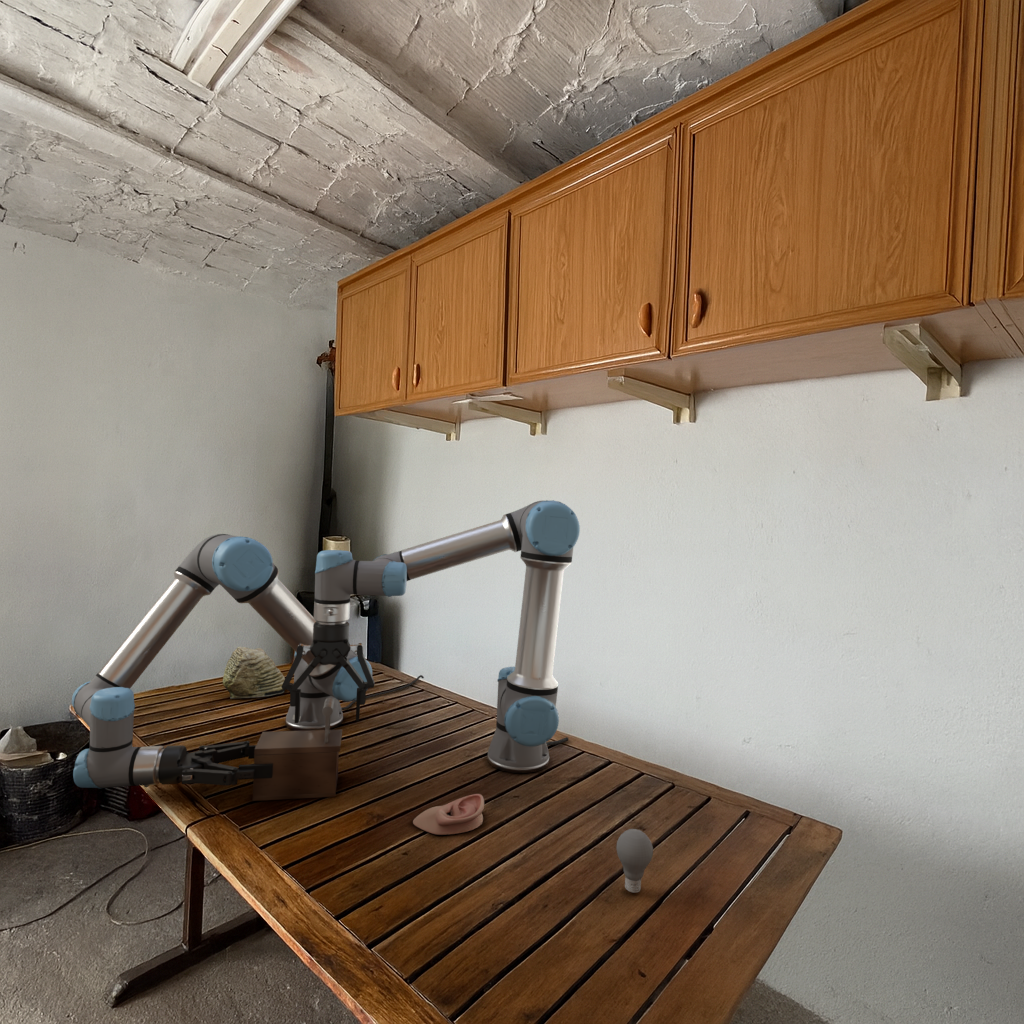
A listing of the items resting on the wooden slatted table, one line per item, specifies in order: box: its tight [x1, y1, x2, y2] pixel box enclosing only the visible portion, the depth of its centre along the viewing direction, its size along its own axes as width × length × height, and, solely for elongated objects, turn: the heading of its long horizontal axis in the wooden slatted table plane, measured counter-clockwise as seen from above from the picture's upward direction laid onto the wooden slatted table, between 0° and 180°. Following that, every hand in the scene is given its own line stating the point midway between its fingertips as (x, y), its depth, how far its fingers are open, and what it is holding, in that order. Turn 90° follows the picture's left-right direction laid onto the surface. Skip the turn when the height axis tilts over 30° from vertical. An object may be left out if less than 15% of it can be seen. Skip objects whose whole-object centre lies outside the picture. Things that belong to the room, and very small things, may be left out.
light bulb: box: [615, 828, 654, 894], centre depth 106 cm, size 6×6×10 cm
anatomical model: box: [412, 793, 485, 836], centre depth 126 cm, size 13×4×12 cm
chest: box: [252, 752, 340, 802], centre depth 137 cm, size 16×10×10 cm, turn 102°
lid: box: [254, 698, 343, 755], centre depth 137 cm, size 17×10×9 cm, turn 102°
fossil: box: [222, 646, 287, 699], centre depth 198 cm, size 9×18×15 cm, turn 132°
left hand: (276, 760), depth 136 cm, fingers closed on chest, 10 cm apart
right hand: (327, 720), depth 138 cm, fingers open, 12 cm apart
